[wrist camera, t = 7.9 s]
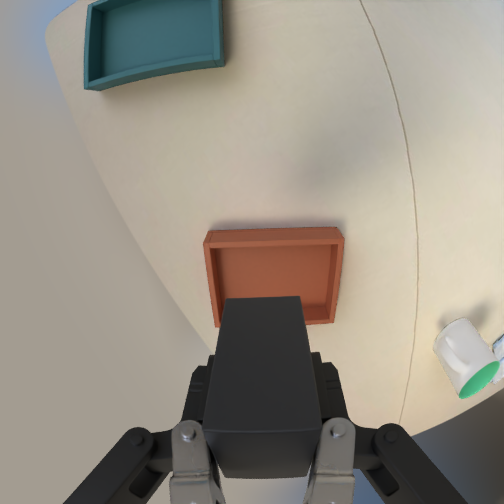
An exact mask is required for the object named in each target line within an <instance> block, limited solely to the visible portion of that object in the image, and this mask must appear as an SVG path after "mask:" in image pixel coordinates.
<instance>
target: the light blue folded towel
mask: <svg viewBox="0 0 504 504" xmlns="http://www.w3.org/2000/svg"><path fill="white" fill-rule="evenodd" d="M493 350H494V351H493V353H494V355H495V356H496V357H497V359H498V360H499V362H500V367H499V369H498V371H497V373H496V375H495V376H494V377H493V378H492V380H491V381H490V383H492V382H493V383H494V384H496V383H497V382H498V381H499V380H500V379H502V378H503V377H504V335H503V337H502V338H501V339H500V340H499V341H498V342H496V343H495V344H494V345H493Z"/></svg>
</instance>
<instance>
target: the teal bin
mask: <svg viewBox="0 0 504 504" xmlns="http://www.w3.org/2000/svg"><path fill="white" fill-rule="evenodd" d="M224 66H225V64H224V41H223V13H222V0H98V1H96V2H94V3H91V4H89V5H88V10H87V19H86V29H85V44H84V89H86V90H95V91H101V90H105V89H108V88H111V87H115V86H119V85H122V84H126V83H130V82H134V81H138V80H142V79H147V78H151V77H156V76H161V75H167V74H172V73H178V72H184V71H191V70H198V69H206V68H215V67H224Z"/></svg>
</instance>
